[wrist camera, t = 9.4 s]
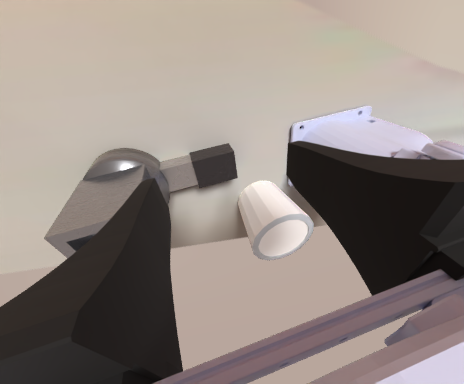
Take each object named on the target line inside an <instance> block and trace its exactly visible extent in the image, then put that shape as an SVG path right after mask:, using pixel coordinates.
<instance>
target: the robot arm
mask: <svg viewBox="0 0 464 384" xmlns="http://www.w3.org/2000/svg"><path fill="white" fill-rule="evenodd" d="M371 111H372V107H371V106H364V107H360V108H355V109H351V110H347V111H343V112H339V113H335V114H331V115H327V116H323V117H319V118H315V119H310V120H306V121H302V122H298V123H295V124H294V125H293V126H292V128H291V143H288V154H287V174H286V175H287V176H288V184H289V185H290V186H294V187H295V188H296V189H297V191H298V192H299V193H300V194H301V195H302V196H303V197H304V198H305V199H306V201H307V202H308V203H309V204H310V205H311V206H312V207H313V208H314V209H315V210H316V211H317V212H318V214H319V215H320V216H321V217H322V218H323V219H324V221H325V222H326V223H327V225H328V226H329V227H330V229H331V230H332V232H333V233H334V234H335V236H336V237H337V238H338V240H339V242H340V243H341V245H342V246H343V247H344V249H345V250H346V252H347V254H348V255H349V257H350V258H351V260H352V262H353V263H354V265H355V266H356V268H357V270H358V271H359V273H360V275H361V277H362V278H363V280H364V282H365V284H366V285H367V287H368V289H369V291H370V293H371V294H372V296H371V297H369V298H366V299H364V300H361V301H359V302H356V303H353V304H351V305H348V306H346V307H344V308H341V309H338V310H336V311H333V312H331V313H328V314H326V315H323V316H321V317H318V318H316V319H313V320H311V321H308V322H306V323H303V324H301V325H298V326H296V327H293V328H291V329H288V330H286V331H283V332H281V333H278V334H276V335H273V336H271V337H268V338H265V339H263V340H261V341H258V342H255V343H253V344H250V345H248V346H246V347H243V348H240V349H238V350H235V351H233V352H230V353H228V354H225V355H223V356H220V357H218V358H215V359H213V360H210V361H208V362H205V363H203V364H200V365H198V366H195V367H193V368H190V369H188V370H185V371H183V368H182V361H181V355H180V348H179V341H178V335H177V327H176V319H175V312H174V304H173V294H172V284H171V273H170V243H171V222H170V214H169V207H168V205H167V203H166V201H165V199H164V197H163V194H162V192H161V190H160V188H159V186H158V184H157V182H156V179H155V178H151V179H147V180H144V181H142V182H141V183H140V184H139V185H138V186H137V188H136V189H135V190H134V191H133V193H132V194H131V195H130V196H129V198H128V199H127V200H126V201H125V203H124V204H123V205H122V206H121V208H120V209H119V210H118V211H117V212H116V213H115V214H114V216H113V217H112V218H111V219H110V220H109V221H108V222H107V223H106V224H105V226H104V227H103V228H102V229H101V230H100V231H99V232H98V233H96V234H95V235H94V236H93V237H92V238H91V239H90V240H89V241H88V242H87V243H86V244H85V245H83V246H82V247H81V248H80V249H79V250H77V251H76V252H75V253H74V254H73V255H71V256H70V257H69V258H68V259H67V260H65V261H64V262H63V263H62V264H60V265H59V266H58V267H57V268H55V269H54V270H53V271H51V272H50V273H49V274H47V275H46V276H45V277H43V278H42V279H41V280H39V281H38V282H36V283H35V284H34V285H32V286H31V287H29V288H28V289H27V290H25V291H24V292H22V293H21V294H19V295H18V296H17V297H15V298H13V299H12V300H10V301H9V302H7V303H6V304H4V305H3V306H1V307H0V384H247V383H249V382H251V381H254V380H256V379H259V378H261V377H263V376H266V375H268V374H270V373H273V372H275V371H277V370H280V369H282V368H284V367H287V366H289V365H291V364H294V363H296V362H298V361H301V360H303V359H306V358H308V357H310V356H313V355H315V354H317V353H320V352H322V351H324V350H326V349H329V348H331V347H334V346H336V345H338V344H341V343H343V342H345V341H348V340H350V339H353V338H355V337H357V336H359V335H362V334H364V333H367V332H369V331H371V330H374V329H376V328H378V327H381V326H383V325H385V324H388V323H390V322H392V321H395V320H397V319H400V318H402V317H404V316H407V315H409V314H411V313H414V312H416V311H418V310H421V309H422V311H421V312H419V313H417V314H415V315H413V316H412V317H410V318H408V320H407V321H406V322H405V324H404V325H403V326H402V327H400V328H399V329H398V330H397V331H396V332H394V333H393V334H391V335H390V336H389V337H387V338H386V339H385V344H386V345H387V346H388V347H385V348H383V349H381V350H379V351H376V352H374V353H372V354H370V355H368V356H365V357H363V358H361V359H359V360H357V361H354V362H352V363H350V364H348V365H346V366H344V367H342V368H339V369H337V370H335V371H333V372H331V373H329V374H327V375H325V376H322V377H320V378H318V379H316V380H314V381H312V382H310V383H308V384H464V146H462V145H459V144H456V143H453V142H449V141H446V140H442V141H438V142H434V143H433V141H432V140H431V139H430V138H429V137H427V136H426V135H425V134H423V133H421V132H418V131H415V130H412V129H409V128H406V127H403V126H400V125H397V124H394V123H391V122H388V121H385V120H381V119H378V118H375V117H372V116H370V114H371ZM301 125H302V127H301V129H300V126H301Z"/></svg>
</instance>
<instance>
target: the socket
mask: <svg viewBox="0 0 464 384" xmlns="http://www.w3.org/2000/svg"><path fill="white" fill-rule="evenodd" d="M147 179H151V176H150V174H149V172H148V170H147V168H146V166H145V164H144V165H141V166H137V167H133V168H129V169H125V170H121V171H117V172H113V173H109V174H105V175H101V176H97V177H93V178H89V179H85V180H81V181H80V183H79V184H78V186H77V187H76V189H75V190H74V192H73V193H72V195H71V197H70V198H69V200H68V201H67V203H66V204H65V206H64V208H63V209H62V211H61V212H60V214H59V215H58V217H57V218H56V220H55V222H54V223H53V225H52V226H51V228H50V229H49V231H48V232H47V234H46V236H45V237H44V239H45V240H47V241H48V242H49V243H50V244H51V245H53V246H54V247H55V248H56V249H57V250H58V251H60V252H61V253H62V254H63V255H64V256H66V257H67V258H69V257H70V256H71V255H73V254H74V253H75V252H76V251H77V250H79V249H80V248H81V247H82V246H83V245H85V244H86V243H87V242H88V241H89V240H90V239H91V238H92V237H93V236H94V235H95V234H96V233H98V232H99V231H100V230H101V229H102V228H103V227H104V226H105V224H106V223H107V222H108V221H109V220H110V219H111V218H112V217H113V216H114V214H115V213H116V212H117V211H118V210H119V209H120V208H121V206H122V205H123V204H124V203H125V201H126V200H127V199H128V198H129V196H130V195H131V194H132V193H133V191H134V190H135V189H136V188H137V186H138V185H139V184H140V183H141V182H142V181H144V180H147Z"/></svg>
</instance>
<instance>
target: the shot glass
mask: <svg viewBox="0 0 464 384" xmlns="http://www.w3.org/2000/svg"><path fill="white" fill-rule="evenodd" d="M238 206H239V209H240V213H241V216H242V219H243V222H244V225H245V228H246V231H247V234H248V237H249V240H250V243H251V247H252V250H253V253H254V255H256V256H257V257H258V258H260V259H264V260H275V259H280V258H283V257H285V256H288V255H290V254H292V253H293V252H295V251H296V250H298V249H299V248H301V247H302V246H303V245H304V244H305V243H306V242H307V241H308V240H309V238H310V236H311V234H312V232H313V225H314V223H313V222H312V220H311V218H310V217H309V216H308V215H307V214H306V213H305V212H304V211H303V210H302V209H301V208H300V207H298V206H297V205H296V204H295V203H294V202H293V201H292V200H291V199H290V198H289V197H288V196H287V195H286V194H285V193H284V192H283V191H281V190H280V189H279V188H278V187H277V186H276V185H275V184H274V183H272V182H269V181H258V182H255V183H252V184H250V185H249V186H248V187H246V188H245V189H244V190H243V191H242V193H241V194H240V196H239V200H238Z"/></svg>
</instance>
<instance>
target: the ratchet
mask: <svg viewBox="0 0 464 384" xmlns="http://www.w3.org/2000/svg"><path fill="white" fill-rule="evenodd" d="M144 164H145V166H146V168H147V170H148V172H149V174H150V176H151V178H155V179H156V182H157V184H158V186H159V188H160V190H161V192H162V194H163V197H164V199H165V201H166V203H167V205H168V203H169V198H170V193H169V192H172V191H176V190H180V189H184V188H187V187H191V186H195V185H199V188H202V187H206V186H210V185H213V184H217V183H221V182H224V181H228V180H232V179H235V178H238V177H237V170H236V163H235V156H234V151H233V149H232V148H231V146H230V145H229V143H228V144H224V145H219V146H215V147H211V148H207V149H203V150H199V151H195V152H191V153H190V155H187V156H183V157H179V158H175V159H171V160H167V161H163V162H160V161H158V160H157V159H156V158H155V157H153V156H152V155H150V154H148V153H146V152H143V151H140V150H136V149H129V148H120V149H114V150H110V151H108V152H105V153H103V154H102V155H100V156H99V157H98V158H97V159H96V160H95V161H94V162H93V164H92V165H91V167H90V168H89V170H88V172H87V173H86V175H85V176H84V178H83V180H85V179H89V178H93V177H97V176H101V175H105V174H109V173H113V172H117V171H121V170H125V169H129V168H133V167H137V166H141V165H144Z"/></svg>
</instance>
